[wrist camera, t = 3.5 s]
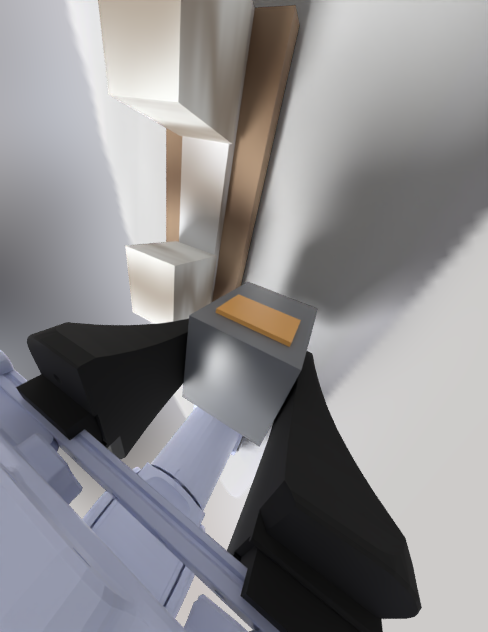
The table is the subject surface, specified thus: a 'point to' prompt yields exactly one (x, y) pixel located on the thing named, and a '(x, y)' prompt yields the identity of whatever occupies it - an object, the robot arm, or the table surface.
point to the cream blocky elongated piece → (200, 134)
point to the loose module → (246, 356)
